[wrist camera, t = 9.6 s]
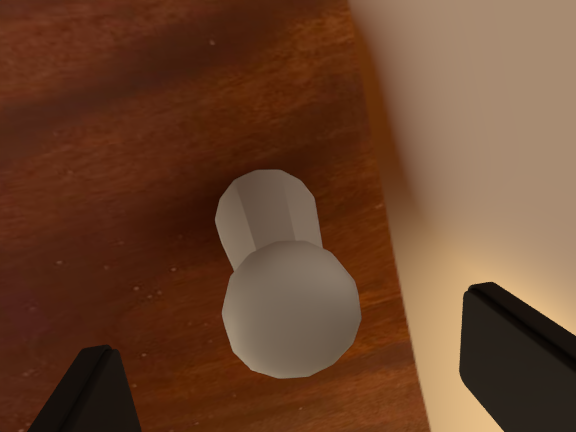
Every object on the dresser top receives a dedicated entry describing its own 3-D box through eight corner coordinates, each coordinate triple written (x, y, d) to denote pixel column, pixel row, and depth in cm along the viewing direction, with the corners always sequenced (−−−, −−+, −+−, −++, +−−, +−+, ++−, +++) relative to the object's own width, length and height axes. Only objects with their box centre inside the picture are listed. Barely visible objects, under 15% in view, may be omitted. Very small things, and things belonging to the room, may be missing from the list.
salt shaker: (207, 173, 21) (166, 264, 9) (299, 153, 22) (383, 212, 9) (231, 259, 23) (224, 435, 11) (315, 239, 23) (403, 386, 11)
